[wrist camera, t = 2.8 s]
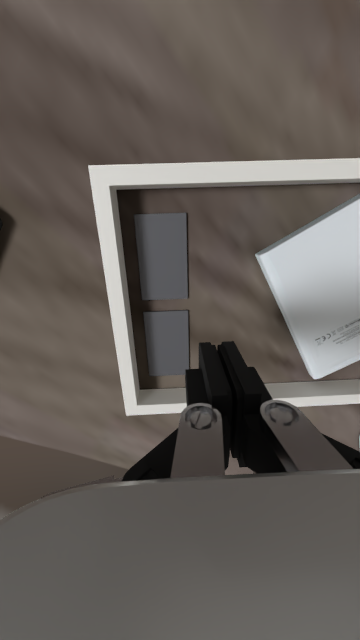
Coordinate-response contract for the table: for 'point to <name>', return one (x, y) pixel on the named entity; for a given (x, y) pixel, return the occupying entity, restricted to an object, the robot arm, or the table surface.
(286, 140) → the table surface
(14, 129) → the table surface
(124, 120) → the table surface
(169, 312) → the box
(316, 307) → the external hard drive
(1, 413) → the table surface
